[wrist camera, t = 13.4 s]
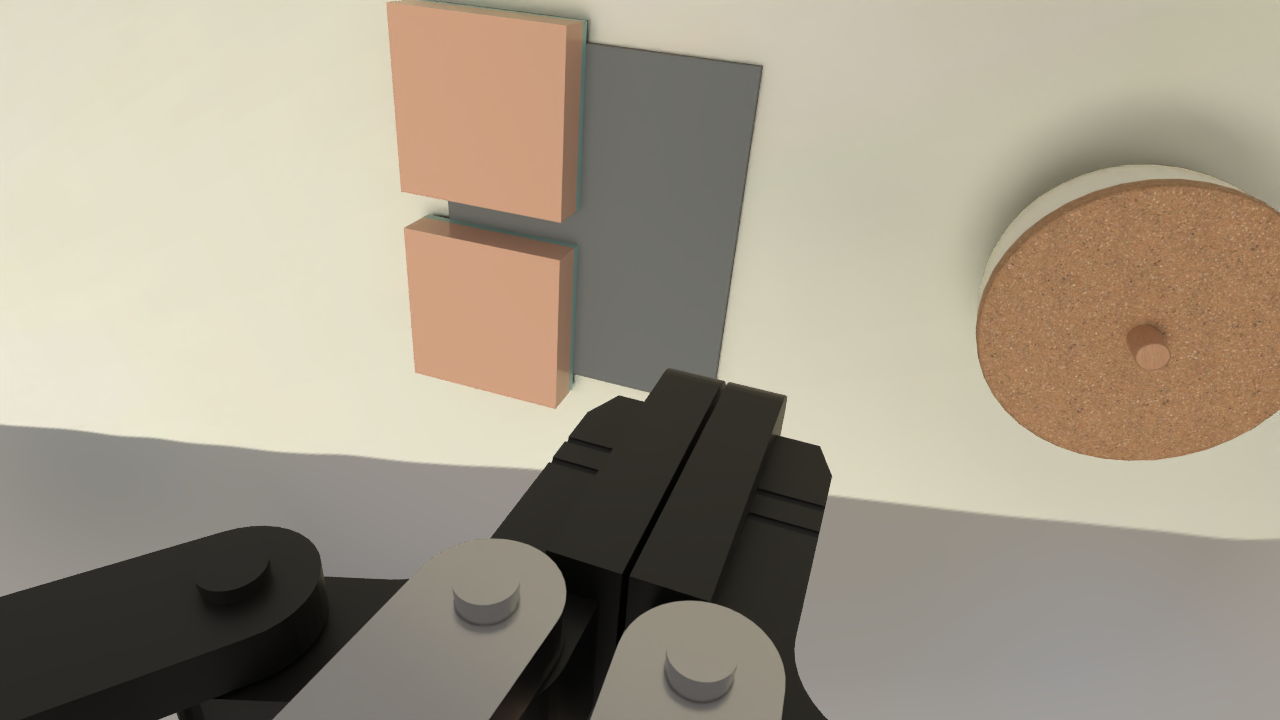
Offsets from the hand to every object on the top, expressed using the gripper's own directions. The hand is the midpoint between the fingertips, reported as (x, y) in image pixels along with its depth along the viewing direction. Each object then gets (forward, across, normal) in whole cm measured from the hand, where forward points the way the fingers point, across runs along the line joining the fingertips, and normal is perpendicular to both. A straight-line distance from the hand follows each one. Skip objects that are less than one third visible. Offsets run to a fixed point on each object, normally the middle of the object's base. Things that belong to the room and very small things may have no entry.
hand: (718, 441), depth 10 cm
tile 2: (+27, +14, +14) cm, 33 cm away
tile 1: (+27, +14, +3) cm, 30 cm away
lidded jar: (+29, -11, +6) cm, 31 cm away
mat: (+28, +13, +9) cm, 32 cm away
